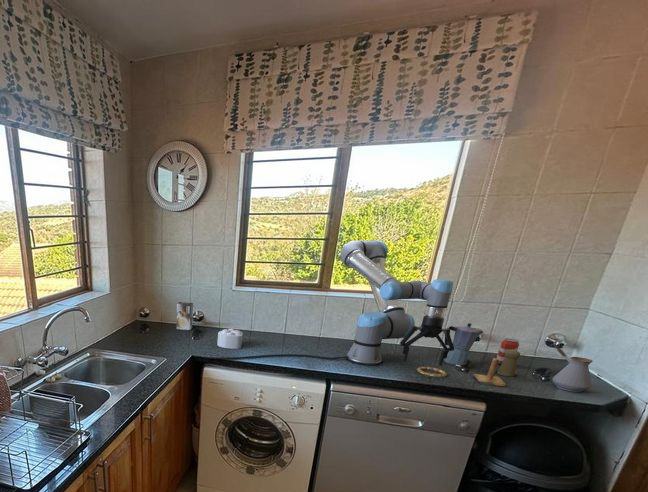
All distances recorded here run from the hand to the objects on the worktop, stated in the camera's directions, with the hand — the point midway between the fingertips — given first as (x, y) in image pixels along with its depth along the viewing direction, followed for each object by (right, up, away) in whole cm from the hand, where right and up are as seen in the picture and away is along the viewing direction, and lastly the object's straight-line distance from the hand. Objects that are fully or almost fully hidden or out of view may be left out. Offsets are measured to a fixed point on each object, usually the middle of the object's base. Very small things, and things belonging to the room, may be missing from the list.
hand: (421, 362), depth 181 cm
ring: (+4, -4, 0) cm, 6 cm away
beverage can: (+49, 0, +14) cm, 51 cm away
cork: (+38, -5, +1) cm, 39 cm away
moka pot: (+25, 0, +13) cm, 28 cm away
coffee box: (-101, +24, +71) cm, 126 cm away
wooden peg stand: (+24, -8, -8) cm, 26 cm away
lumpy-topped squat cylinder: (-79, +10, +38) cm, 89 cm away
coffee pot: (+52, -9, -10) cm, 54 cm away
